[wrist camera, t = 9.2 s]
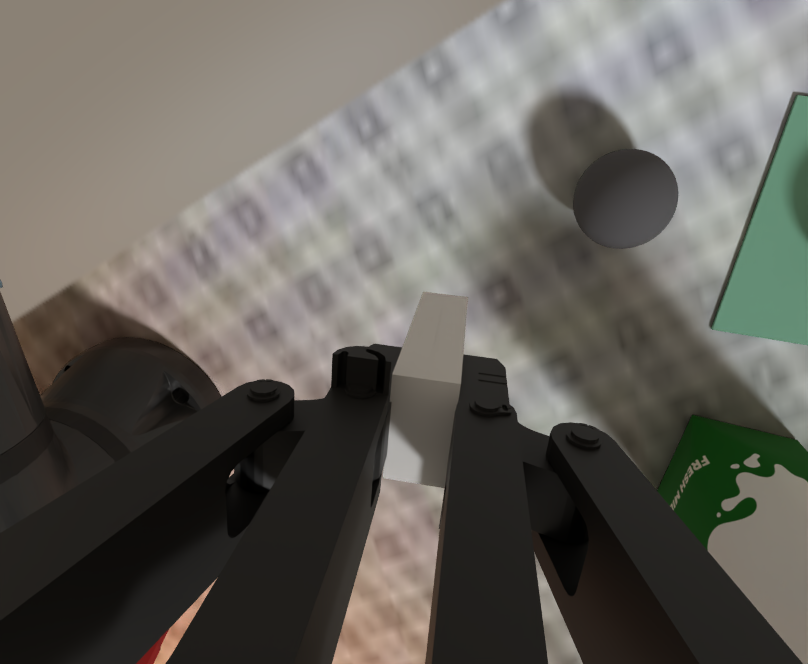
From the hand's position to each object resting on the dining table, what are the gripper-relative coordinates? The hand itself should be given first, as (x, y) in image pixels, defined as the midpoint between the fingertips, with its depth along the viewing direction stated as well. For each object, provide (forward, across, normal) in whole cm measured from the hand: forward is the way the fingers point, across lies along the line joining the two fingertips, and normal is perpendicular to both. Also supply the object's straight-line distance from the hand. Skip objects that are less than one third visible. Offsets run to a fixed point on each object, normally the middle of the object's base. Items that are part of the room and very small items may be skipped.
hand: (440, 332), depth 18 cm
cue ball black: (+15, +9, +4) cm, 18 cm away
